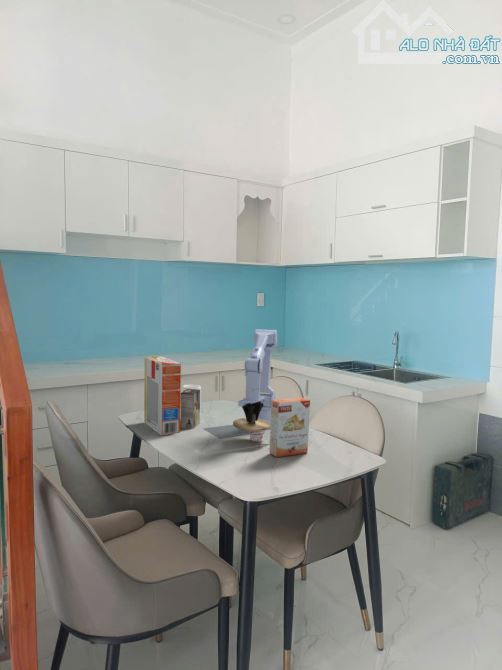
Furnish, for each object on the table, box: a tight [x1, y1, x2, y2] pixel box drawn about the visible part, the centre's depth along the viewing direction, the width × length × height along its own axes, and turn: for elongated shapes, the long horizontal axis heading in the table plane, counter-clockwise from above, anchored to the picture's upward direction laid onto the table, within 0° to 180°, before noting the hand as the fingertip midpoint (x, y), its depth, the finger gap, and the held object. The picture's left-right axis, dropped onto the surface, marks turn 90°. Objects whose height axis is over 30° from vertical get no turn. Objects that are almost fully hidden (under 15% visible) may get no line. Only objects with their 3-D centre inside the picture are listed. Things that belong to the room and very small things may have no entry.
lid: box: [232, 413, 270, 431], centre depth 207 cm, size 15×15×5 cm
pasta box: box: [143, 355, 182, 437], centre depth 224 cm, size 23×8×30 cm, turn 30°
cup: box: [182, 384, 202, 413], centre depth 239 cm, size 8×8×16 cm
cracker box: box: [269, 397, 311, 458], centre depth 194 cm, size 14×6×21 cm, turn 117°
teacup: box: [241, 430, 270, 447], centre depth 208 cm, size 12×12×6 cm
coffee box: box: [180, 389, 201, 430], centre depth 228 cm, size 9×6×16 cm
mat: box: [202, 424, 250, 439], centre depth 221 cm, size 16×16×1 cm
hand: (252, 421), depth 207 cm, fingers closed on lid, 3 cm apart
